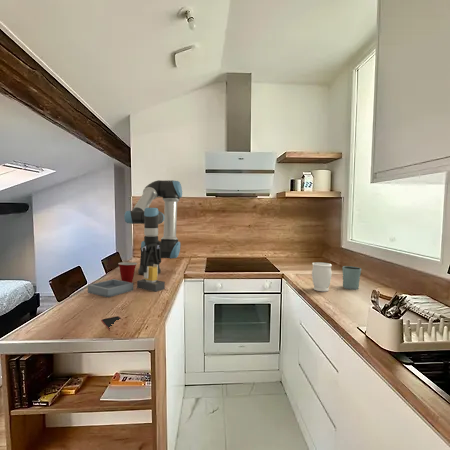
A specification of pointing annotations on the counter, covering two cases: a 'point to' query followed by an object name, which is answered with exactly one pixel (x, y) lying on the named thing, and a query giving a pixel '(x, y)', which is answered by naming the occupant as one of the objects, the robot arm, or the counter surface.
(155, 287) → the block
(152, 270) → the block
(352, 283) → the teal tapered cup
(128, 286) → the parts tray
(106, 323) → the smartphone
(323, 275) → the jar
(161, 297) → the counter surface
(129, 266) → the plastic cup
